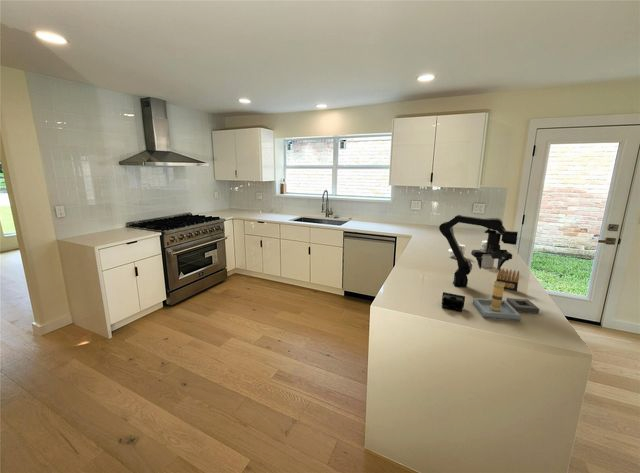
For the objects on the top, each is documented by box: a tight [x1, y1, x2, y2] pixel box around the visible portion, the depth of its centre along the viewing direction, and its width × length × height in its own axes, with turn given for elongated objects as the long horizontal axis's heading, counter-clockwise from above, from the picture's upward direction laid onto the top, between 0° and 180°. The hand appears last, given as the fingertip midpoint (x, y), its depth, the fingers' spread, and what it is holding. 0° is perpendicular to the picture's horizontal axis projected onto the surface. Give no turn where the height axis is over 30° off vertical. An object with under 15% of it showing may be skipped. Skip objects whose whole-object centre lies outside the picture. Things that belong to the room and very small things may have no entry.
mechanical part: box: [448, 241, 467, 258], centre depth 220 cm, size 11×12×12 cm
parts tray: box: [472, 297, 522, 322], centre depth 137 cm, size 15×15×3 cm
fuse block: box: [506, 297, 540, 314], centre depth 141 cm, size 10×10×2 cm
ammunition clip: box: [495, 267, 520, 292], centre depth 162 cm, size 11×2×12 cm, turn 57°
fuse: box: [490, 280, 505, 312], centre depth 135 cm, size 4×4×14 cm
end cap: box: [441, 291, 466, 313], centre depth 140 cm, size 10×7×7 cm
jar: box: [477, 239, 495, 269], centre depth 199 cm, size 10×10×18 cm
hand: (489, 269), depth 157 cm, fingers open, 9 cm apart
